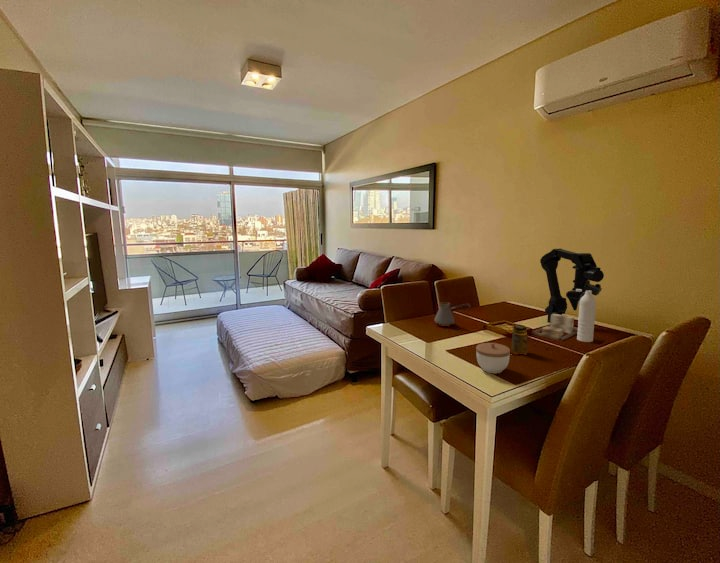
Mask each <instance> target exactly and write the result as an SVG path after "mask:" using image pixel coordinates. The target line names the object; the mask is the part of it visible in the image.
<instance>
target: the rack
mask: <svg viewBox="0 0 720 563" xmlns="http://www.w3.org/2000/svg"><path fill="white" fill-rule="evenodd" d="M547 326H548V327H550V324H548V325H547ZM542 328H543V327H541V328H537V329H535V330H533V331H531V335H535V336H540V337H545V338H549V339H552V340H555V341H560V342H562V341H564V340H567V339H569V338H571V337H573V336H575V335H577V332H578V327H576V326H573V332H572V333H566V334H565V335H563V336H561V337H555V336H551V335H547V334H542Z"/></svg>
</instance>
